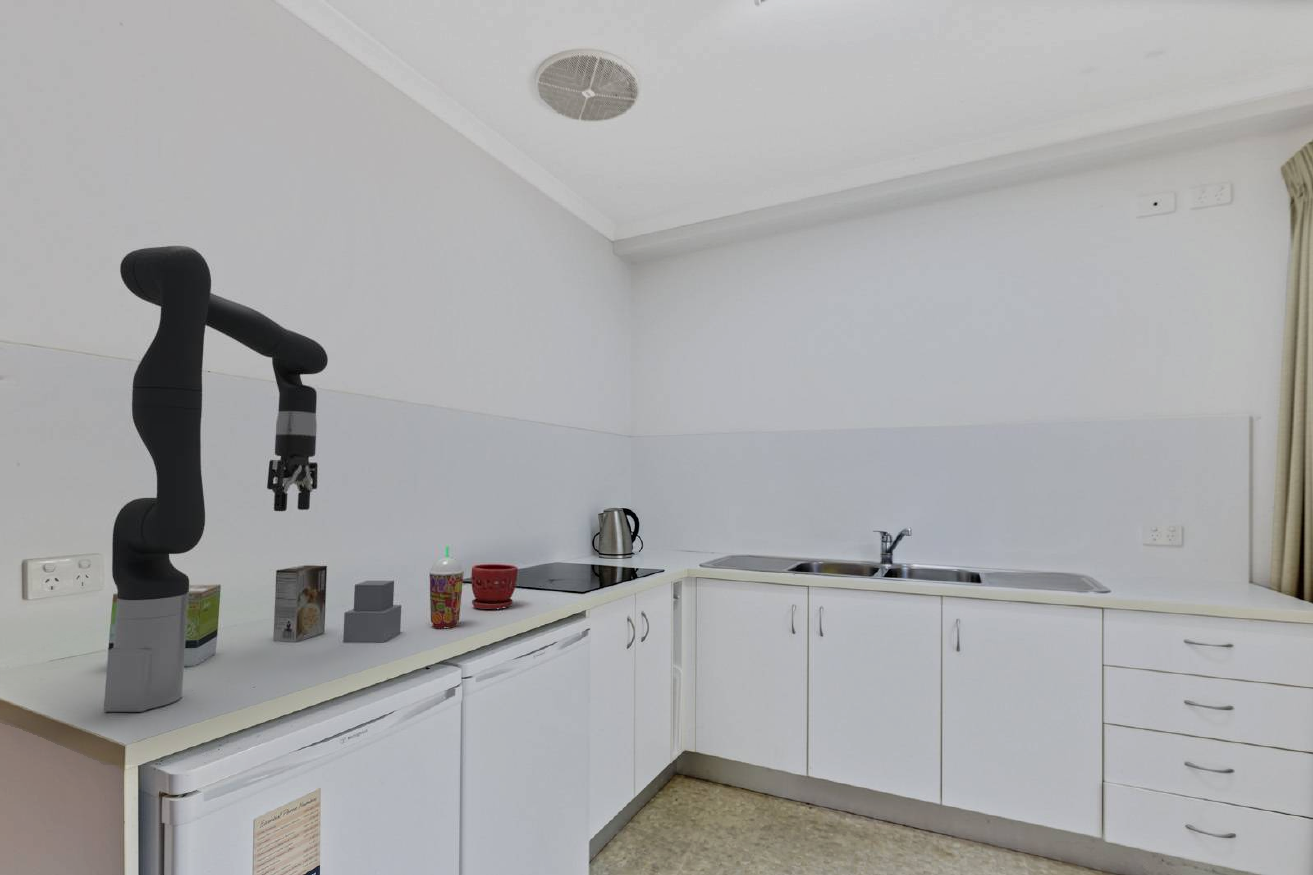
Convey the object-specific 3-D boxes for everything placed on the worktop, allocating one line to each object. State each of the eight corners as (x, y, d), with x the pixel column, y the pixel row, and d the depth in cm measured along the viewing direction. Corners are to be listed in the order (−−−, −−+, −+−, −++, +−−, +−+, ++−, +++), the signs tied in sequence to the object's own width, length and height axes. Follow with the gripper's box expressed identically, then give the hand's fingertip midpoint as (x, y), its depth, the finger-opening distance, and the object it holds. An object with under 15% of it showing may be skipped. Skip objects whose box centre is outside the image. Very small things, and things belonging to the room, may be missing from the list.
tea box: (104, 672, 117) (110, 593, 118) (133, 658, 127) (138, 584, 128) (196, 667, 121) (201, 590, 123) (217, 653, 131) (222, 582, 132)
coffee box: (302, 631, 150) (305, 564, 152) (325, 633, 149) (328, 565, 150) (271, 641, 141) (275, 569, 143) (295, 642, 140) (299, 570, 141)
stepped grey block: (383, 642, 141) (386, 586, 142) (343, 642, 141) (345, 585, 142) (400, 632, 150) (402, 579, 151) (362, 632, 150) (364, 579, 151)
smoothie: (420, 628, 154) (423, 547, 156) (439, 621, 162) (442, 544, 164) (450, 631, 152) (453, 548, 154) (468, 623, 160) (470, 545, 162)
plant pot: (483, 613, 173) (484, 570, 174) (462, 606, 183) (463, 565, 184) (524, 607, 182) (525, 566, 183) (502, 601, 192) (503, 562, 193)
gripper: (294, 431, 126) (290, 512, 125) (331, 436, 140) (327, 509, 139) (257, 431, 126) (252, 511, 125) (297, 436, 140) (293, 509, 139)
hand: (292, 510), depth 132 cm, fingers open, 8 cm apart
